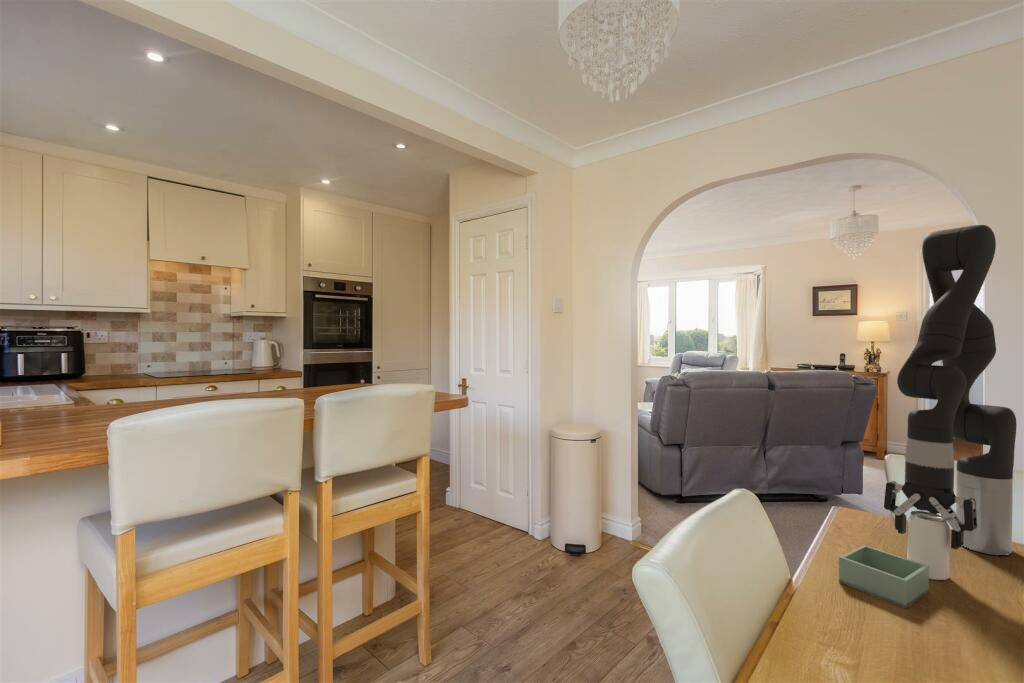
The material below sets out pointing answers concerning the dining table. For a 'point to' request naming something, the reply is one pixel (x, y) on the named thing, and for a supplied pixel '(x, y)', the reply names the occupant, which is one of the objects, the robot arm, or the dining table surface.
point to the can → (929, 543)
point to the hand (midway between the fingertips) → (927, 540)
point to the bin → (884, 575)
